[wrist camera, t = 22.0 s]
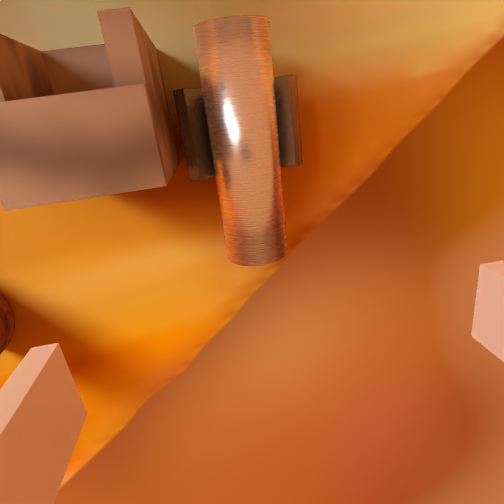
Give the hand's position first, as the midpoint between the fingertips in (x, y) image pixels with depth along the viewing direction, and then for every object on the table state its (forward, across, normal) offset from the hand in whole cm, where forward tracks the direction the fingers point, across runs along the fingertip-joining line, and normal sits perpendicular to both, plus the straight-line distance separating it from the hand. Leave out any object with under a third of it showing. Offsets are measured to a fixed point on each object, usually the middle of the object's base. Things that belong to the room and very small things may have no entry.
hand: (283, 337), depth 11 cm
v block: (+27, +2, +5) cm, 27 cm away
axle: (+23, +2, +4) cm, 24 cm away
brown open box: (+27, -9, +8) cm, 30 cm away
